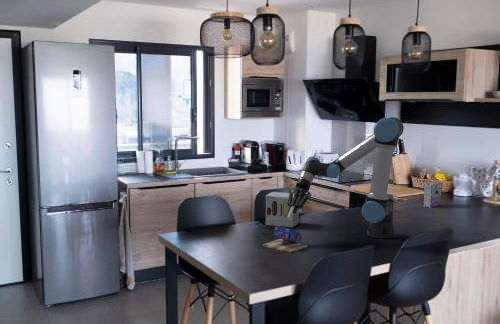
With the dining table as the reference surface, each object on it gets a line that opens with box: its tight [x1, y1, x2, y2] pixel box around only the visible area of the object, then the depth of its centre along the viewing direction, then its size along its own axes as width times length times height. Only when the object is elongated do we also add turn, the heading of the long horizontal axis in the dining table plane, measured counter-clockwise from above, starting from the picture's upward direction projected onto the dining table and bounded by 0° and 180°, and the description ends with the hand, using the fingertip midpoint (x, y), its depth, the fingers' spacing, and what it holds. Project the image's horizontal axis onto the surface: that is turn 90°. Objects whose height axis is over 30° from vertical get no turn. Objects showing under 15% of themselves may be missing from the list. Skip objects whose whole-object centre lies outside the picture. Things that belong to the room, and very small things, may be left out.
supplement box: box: [265, 191, 300, 228], centre depth 306 cm, size 17×13×18 cm
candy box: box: [422, 181, 443, 209], centre depth 355 cm, size 14×6×16 cm, turn 130°
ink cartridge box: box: [272, 226, 304, 244], centre depth 261 cm, size 10×6×14 cm
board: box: [261, 238, 308, 254], centre depth 259 cm, size 18×14×1 cm
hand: (289, 218), depth 265 cm, fingers closed
